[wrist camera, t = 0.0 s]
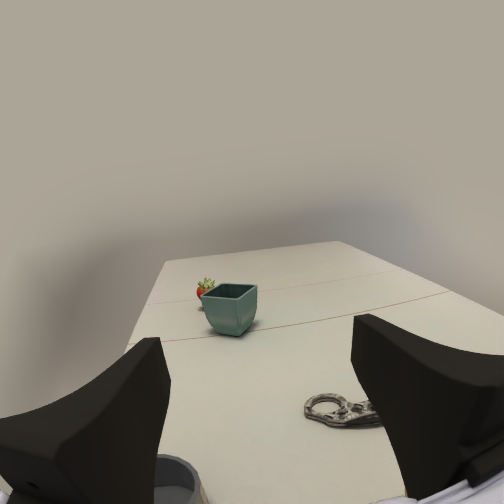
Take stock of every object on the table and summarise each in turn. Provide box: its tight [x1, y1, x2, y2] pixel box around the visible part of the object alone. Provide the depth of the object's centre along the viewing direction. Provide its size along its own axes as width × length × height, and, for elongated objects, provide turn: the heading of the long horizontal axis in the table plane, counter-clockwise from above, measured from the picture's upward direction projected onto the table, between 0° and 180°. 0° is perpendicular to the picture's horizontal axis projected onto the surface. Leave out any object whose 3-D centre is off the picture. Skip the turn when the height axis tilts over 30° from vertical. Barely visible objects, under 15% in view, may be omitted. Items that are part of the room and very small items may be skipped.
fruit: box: [197, 278, 215, 300], centre depth 78 cm, size 5×5×8 cm
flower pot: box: [200, 283, 257, 336], centre depth 65 cm, size 9×9×9 cm
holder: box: [154, 454, 209, 504], centre depth 22 cm, size 8×8×6 cm
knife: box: [304, 393, 381, 426], centre depth 37 cm, size 28×2×10 cm
